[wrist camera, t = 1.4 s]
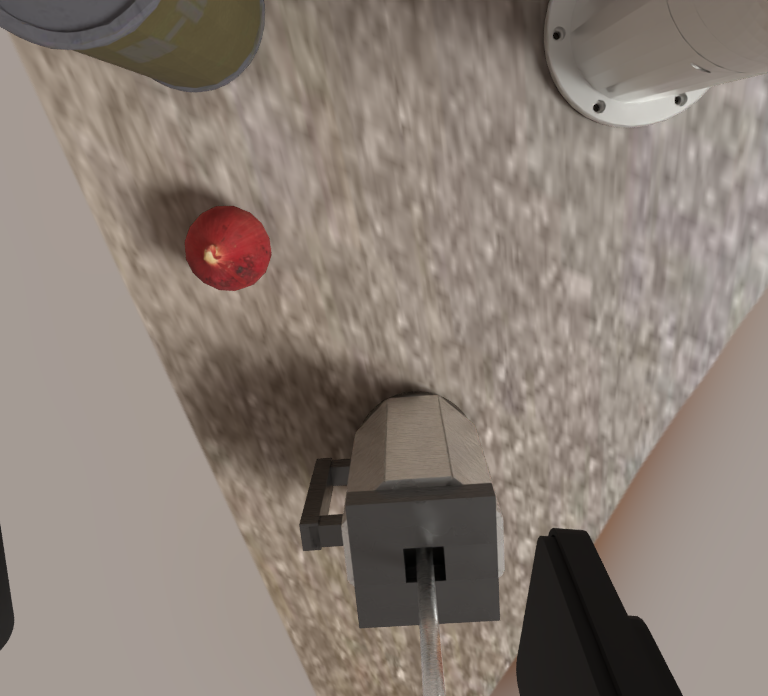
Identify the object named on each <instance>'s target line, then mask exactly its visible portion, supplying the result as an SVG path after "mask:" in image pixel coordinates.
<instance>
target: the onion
mask: <svg viewBox="0 0 768 696" xmlns="http://www.w3.org/2000/svg"><path fill="white" fill-rule="evenodd" d="M185 252H186V260H187V262H188V264H189V266H190V268H191V270H192V272H193V273H194V274H195V275H196V276H197V277H198V278H199V279H200V280H201V281H202V282H203V283H205V284H207V285H210V286H212V287H214V288H216V289H218V290H228V291H236V290H239V289H242V288H245V287H248V286H251V285H254V284H255V283H256V282H257V281H258V280H259V279H260V278H261V276H262V275H263V274H264V273H265V272H266V270H267V267H268V264H269V261H270V258H271V247H270V240H269V237H268V235H267V233H266V231H265V229H264V227H263V225H262V223H261V222H260V221H259V220H258V219H256V218H255V217H254V216H253V215H252V214H251V213H250V212H247V211H245V210H242V209H240V208H237V207H235V206H216V207H214V208H211V209H209V210H207V211H205V212H203V213H202V214H201V215H200V216H199V217H198V218H197V219H196V220H195V222H194V223H193V224H192V225H191V226H190V228H189V231H188V234H187V237H186V240H185Z"/></svg>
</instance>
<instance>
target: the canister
mask: <svg viewBox="0 0 768 696" xmlns="http://www.w3.org/2000/svg"><path fill="white" fill-rule="evenodd" d="M264 15H265V4H264V0H0V27H1V28H3V29H5V30H7V31H9V32H11V33H12V34H14V35H16V36H18V37H20V38H22V39H24V40H27V41H29V42H31V43H34V44H38V45H41V46H44V47H47V48H51V49H65V50H74V51H77V52H79V53H82V54H85V55H88V56H91V57H94V58H97V59H99V60H102V61H105V62H108V63H111V64H114V65H117V66H119V67H122V68H125V69H128V70H131V71H134V72H136V73H139V74H142V75H145V76H148V77H151V78H152V79H154V80H156V81H157V82H159V83H161V84H163V85H165V86H167V87H170V88H173V89H176V90H180V91H186V92H203V91H209V90H215V89H217V88H219V87H222V86H224V85H226V84H228V83H230V82H231V81H232V80H234V79H235V78H237V77H238V76H239V75H240V74H241V73H242V72H243V71H244V70H245V69H246V68H247V66H248V65H249V64H250V63H251V61H252V59H253V58H254V56H255V54H256V52H257V50H258V48H259V45H260V42H261V39H262V34H263V30H264Z"/></svg>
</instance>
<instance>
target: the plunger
mask: <svg viewBox="0 0 768 696" xmlns="http://www.w3.org/2000/svg"><path fill="white" fill-rule="evenodd" d="M404 554H405V565H406V567H413V566H416V568H417V587H418V606H419V626H420V645H421V664H422V684H423V696H446V695H445V684H444V673H443V663H442V652H441V641H440V631H439V620H438V609H437V599H436V588H435V577H434V567H433V565H444V552H443V546H440V547H423V548H407V549H404Z"/></svg>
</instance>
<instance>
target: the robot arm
mask: <svg viewBox="0 0 768 696" xmlns="http://www.w3.org/2000/svg"><path fill="white" fill-rule="evenodd" d="M555 32H556V33H558V34H559V39H558V40H555V39H554V38H553V33H555ZM544 48H545V55H546V62H547V65H548V68H549V71H550V74H551V77H552V79H553V81H554V83H555V85H556V86H557V88H558V90H559V92H560V93H561V95H562V96H563V97H564V98H565V99H566V100H567V102H568V103H569V104H570V105H571V106H572V107H573V108H574V109H576V110H577V111H578V112H580V113H581V114H582V115H584V116H585V117H587V118H589V119H591V120H593V121H596V122H598V123H600V124H604V125H608V126H613V127H619V128H635V127H642V126H649V125H652V124H656V123H659V122H663V121H666V120H668V119H670V118H672V117H674V116H676V115H678V114H680V113H682V112H683V111H684V110H686V109H687V108H688V107H690V106H691V105H693V104H694V103H695V102H697V101H698V100H699V99H700V98H701V97H702V96H703V95H704V94H705V93H706V92H707V90H708V89H709V88H710V87H712V86H716V85H720V84H724V83H729V82H733V81H737V80H741V79H746V78H750V77H754V76H758V75H763V74H767V73H768V0H550V1H549V4H548V9H547V13H546V18H545V23H544ZM675 97H677V98H678V100H679V101H678V103H677V104H675V101H674V100H675ZM594 104H597V105H598V107H599V109H598V111H597V112H596V111H594V110H593V106H594ZM13 626H14V613H13V607H12V600H11V593H10V587H9V580H8V573H7V566H6V560H5V553H4V547H3V540H2V533H1V526H0V650H1V649H2V648H3V647H4V645H5V644H6V643H7V641H8V640H9V638H10V636H11V633H12V630H13ZM516 671H517V672H516V673H517V682H518V688H519V693H520V696H683V695H682V693H681V691H680V689H679V687H678V685H677V683H676V681H675V679H674V677H673V676H672V674H671V672H670V670H669V668H668V666H667V664H666V662H665V660H664V658H663V656H662V654H661V652H660V650H659V648H658V646H657V644H656V642H655V640H654V639H653V637H652V635H651V633H650V631H649V629H648V627H647V625H646V624H645V623H644V621H643V620H642V619H641V618H639V617H638V616H628V615H627V613H626V611H625V609H624V607H623V604H622V602H621V600H620V598H619V596H618V594H617V592H616V590H615V588H614V586H613V584H612V582H611V580H610V577H609V575H608V573H607V571H606V569H605V567H604V565H603V563H602V561H601V559H600V557H599V555H598V553H597V550H596V548H595V546H594V544H593V542H592V540H591V538H590V536H589V534H588V533H587V531H584V530H573V529H560V528H552V529H551V530H550V532H549V535H548V536H540V537H539V538H538V541H537V545H536V551H535V557H534V563H533V569H532V574H531V580H530V586H529V592H528V598H527V603H526V609H525V615H524V621H523V627H522V632H521V638H520V644H519V650H518V656H517V666H516Z"/></svg>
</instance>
